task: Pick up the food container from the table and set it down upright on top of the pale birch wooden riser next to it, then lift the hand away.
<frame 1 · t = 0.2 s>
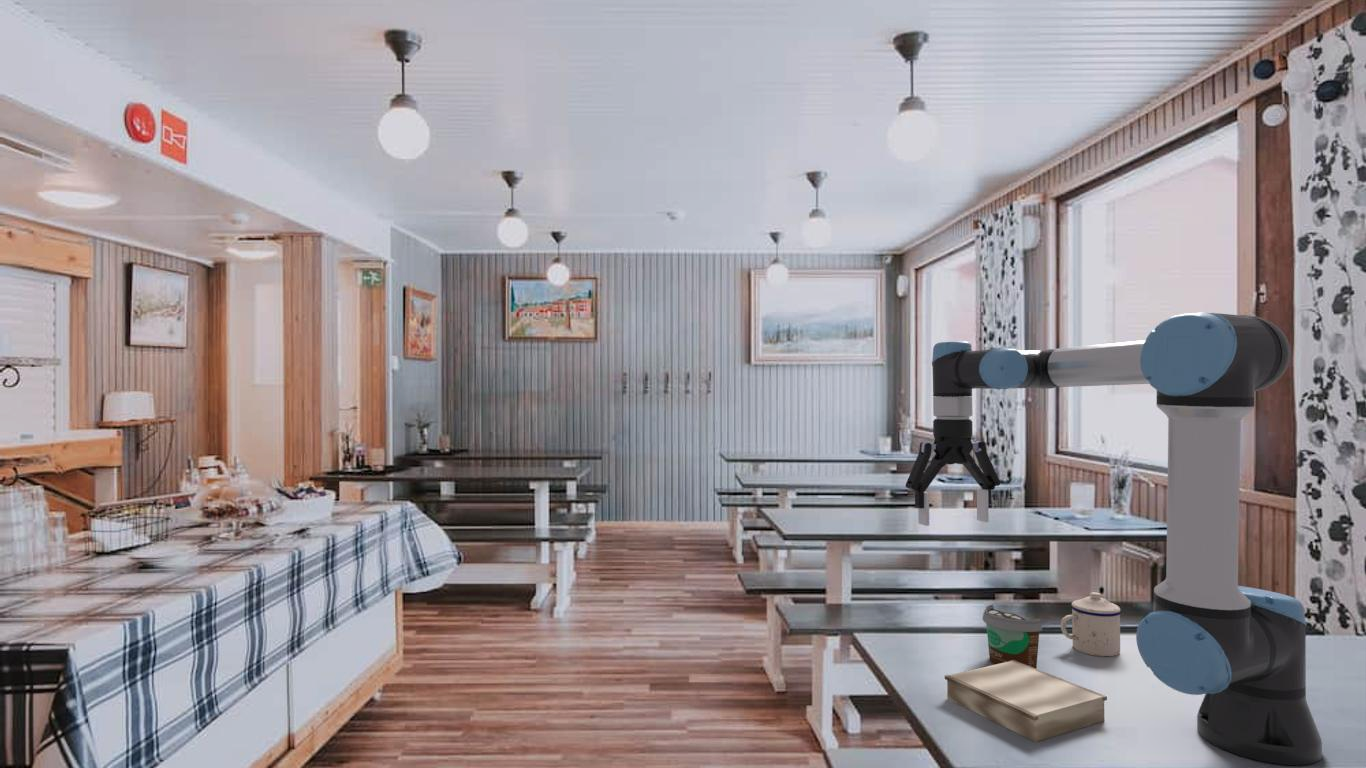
hand: (953, 522, 153), 27 cm above the table, tool pointing down, fingers open, 13 cm apart
riser: (1023, 709, 127), on the table
food container: (1004, 665, 148), on the table
teacup with lid: (1089, 651, 155), on the table
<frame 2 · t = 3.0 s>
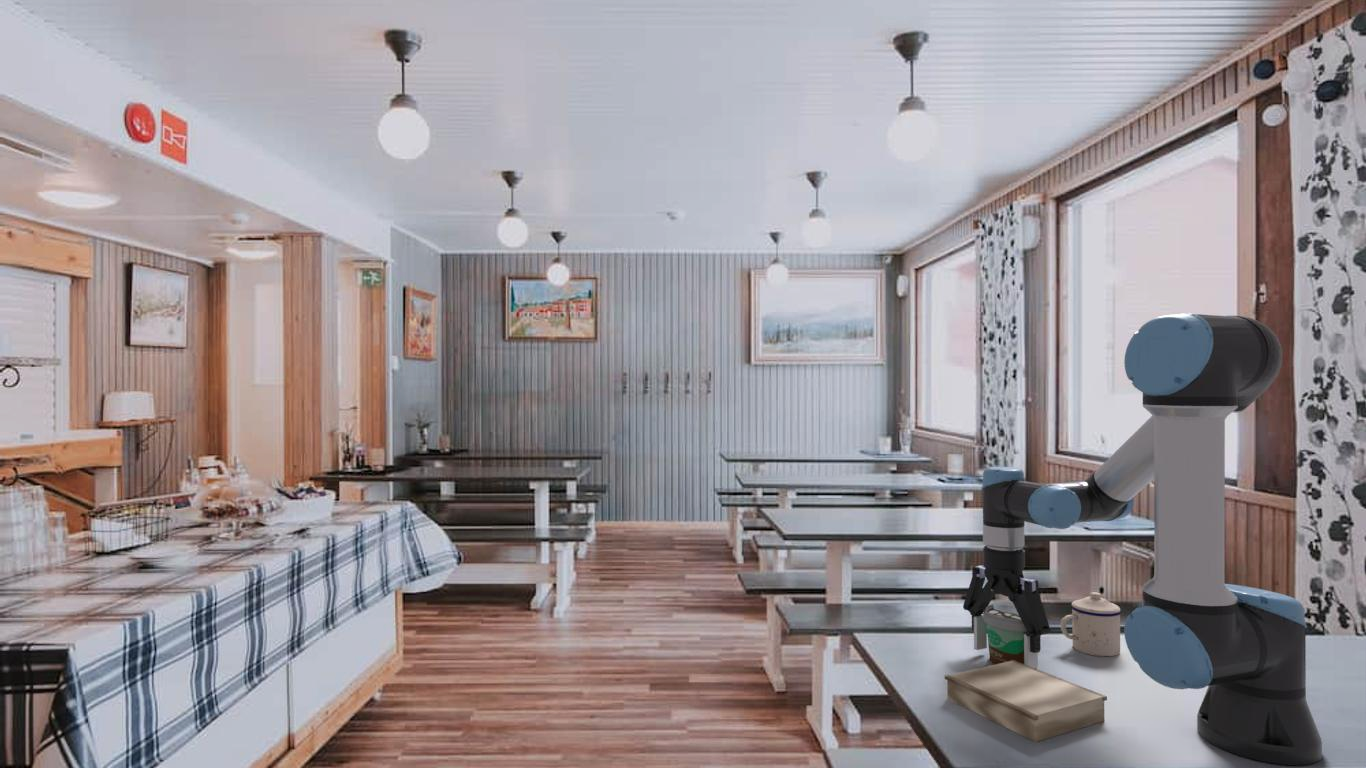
hand: (1004, 658, 148), 1 cm above the table, tool pointing down, fingers closed on food container, 11 cm apart
food container: (1005, 665, 148), on the table, touching gripper
everything else where it was.
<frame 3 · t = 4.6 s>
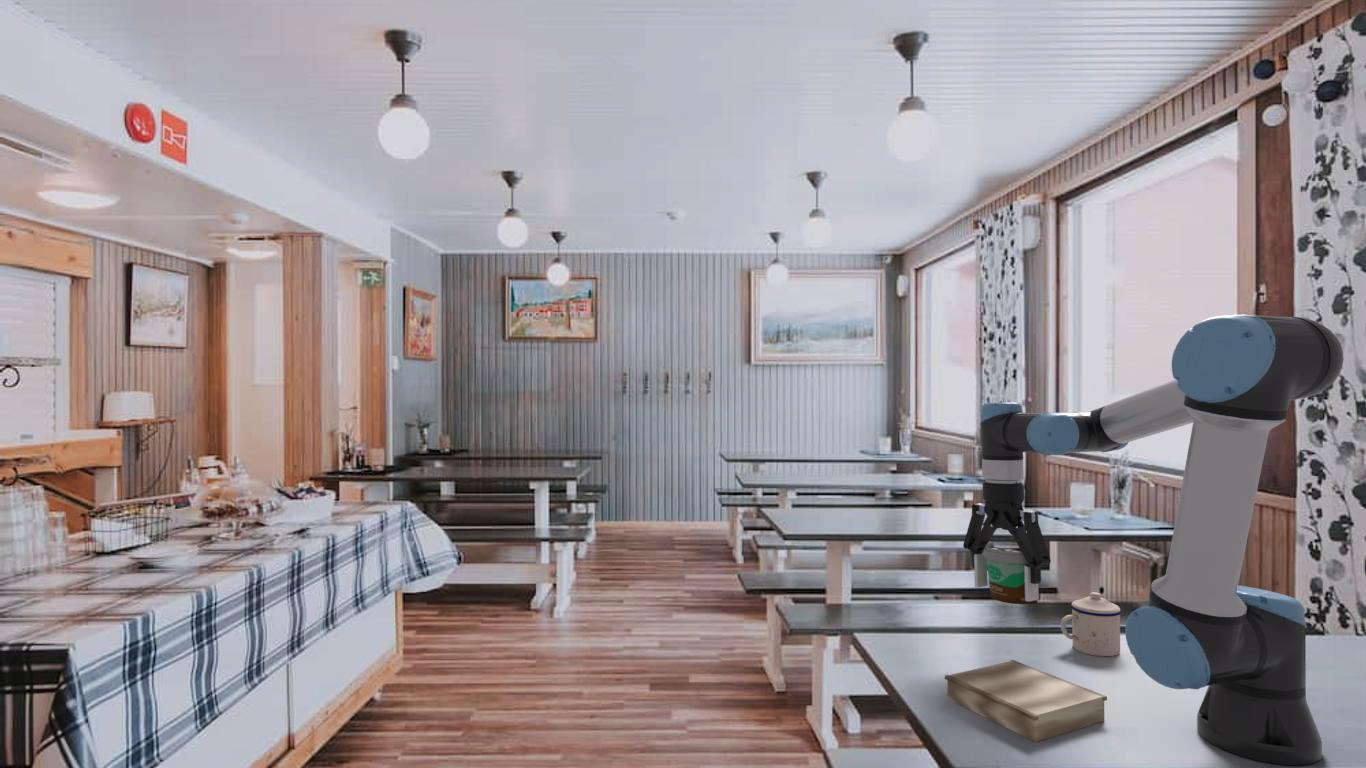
hand: (1005, 593, 147), 14 cm above the table, tool pointing down, fingers closed on food container, 11 cm apart
food container: (1005, 600, 147), point 13 cm above the table, touching gripper
everything else where it was.
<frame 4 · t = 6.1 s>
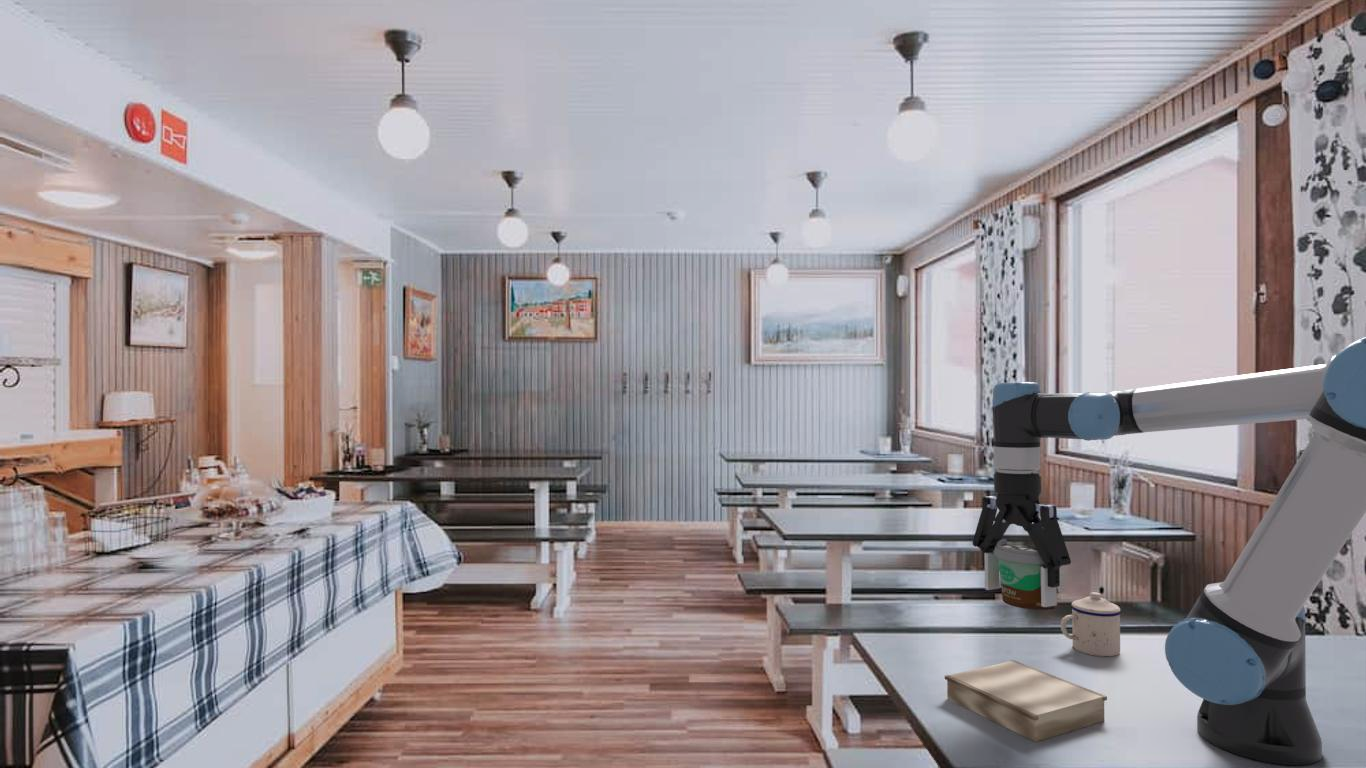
hand: (1019, 597, 131), 18 cm above the table, tool pointing down, fingers closed on food container, 11 cm apart
food container: (1019, 605, 131), point 16 cm above the table, touching gripper
everything else where it was.
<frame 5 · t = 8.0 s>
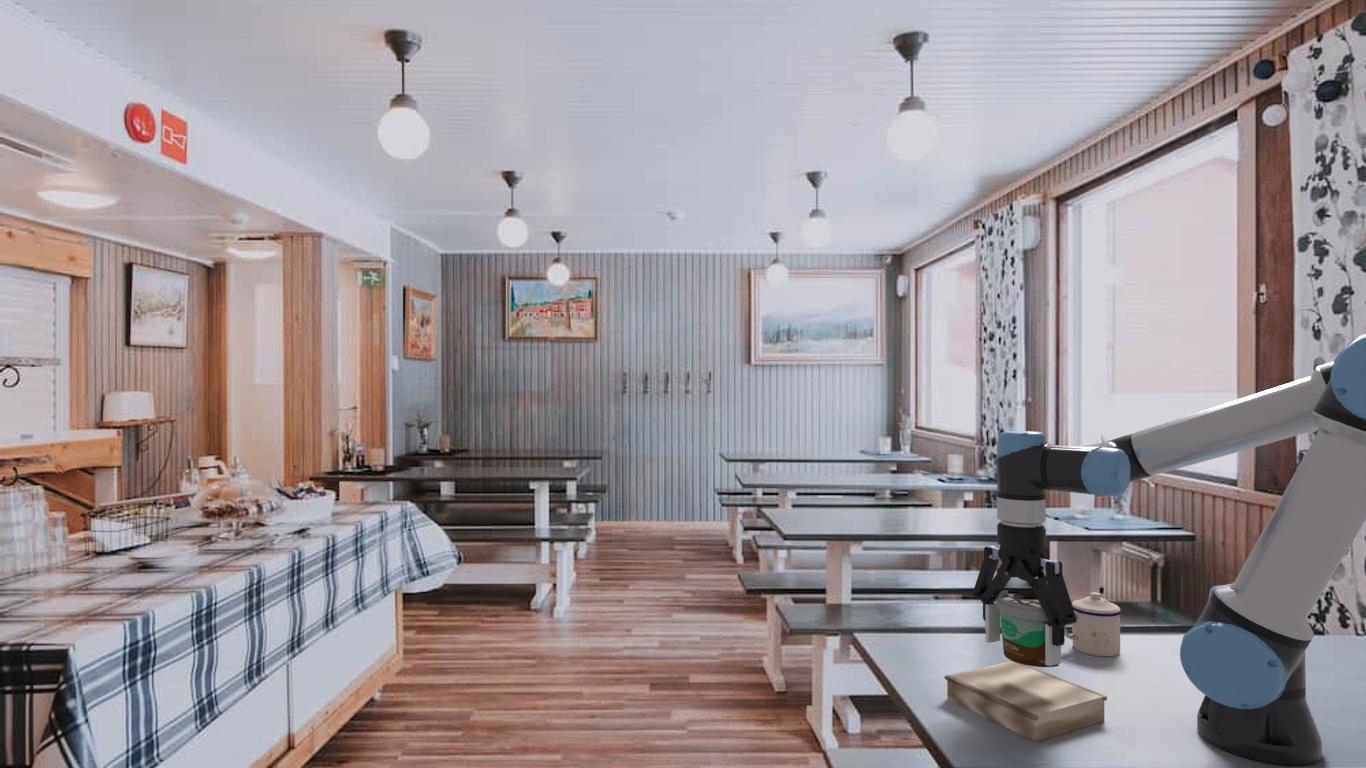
hand: (1021, 652, 127), 10 cm above the table, tool pointing down, fingers closed on food container, 11 cm apart
food container: (1021, 660, 127), point 8 cm above the table, touching gripper
everything else where it was.
when the fingers open (7 cm above the table, at t = 9.3 s): food container drops 1 cm, resting on riser.
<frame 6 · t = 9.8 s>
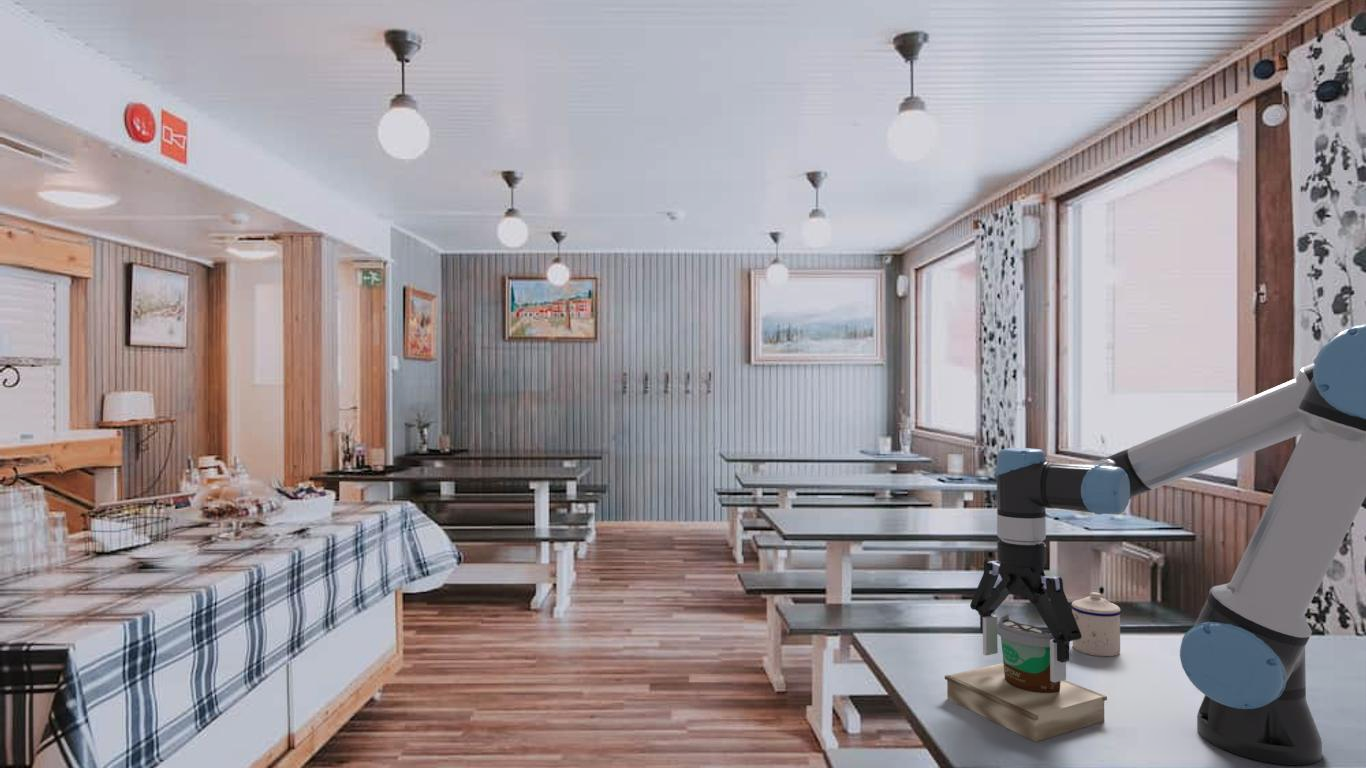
hand: (1022, 666, 127), 7 cm above the table, tool pointing down, fingers open, 13 cm apart
food container: (1022, 686, 127), point 4 cm above the table, touching riser
everything else where it was.
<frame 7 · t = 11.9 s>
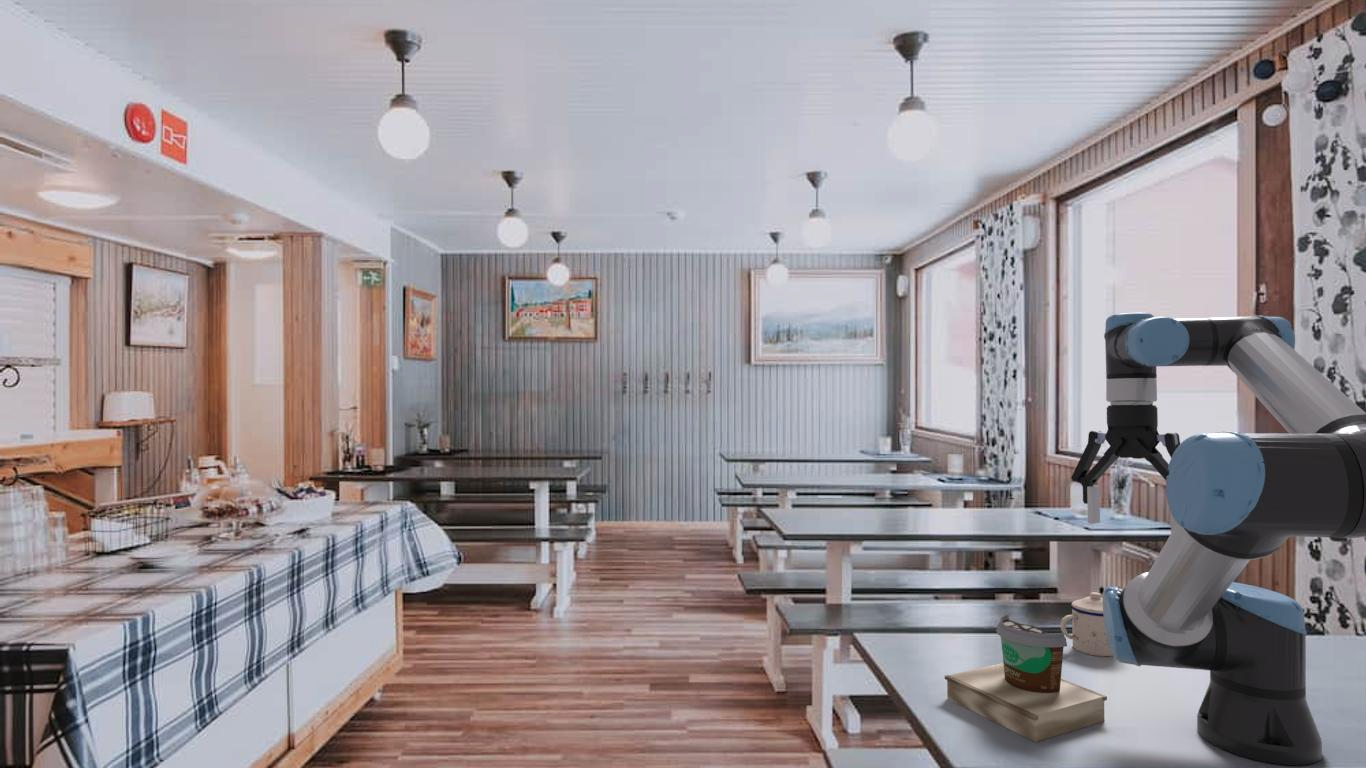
hand: (1133, 528, 129), 30 cm above the table, tool pointing down, fingers open, 13 cm apart
nothing on the table moved.
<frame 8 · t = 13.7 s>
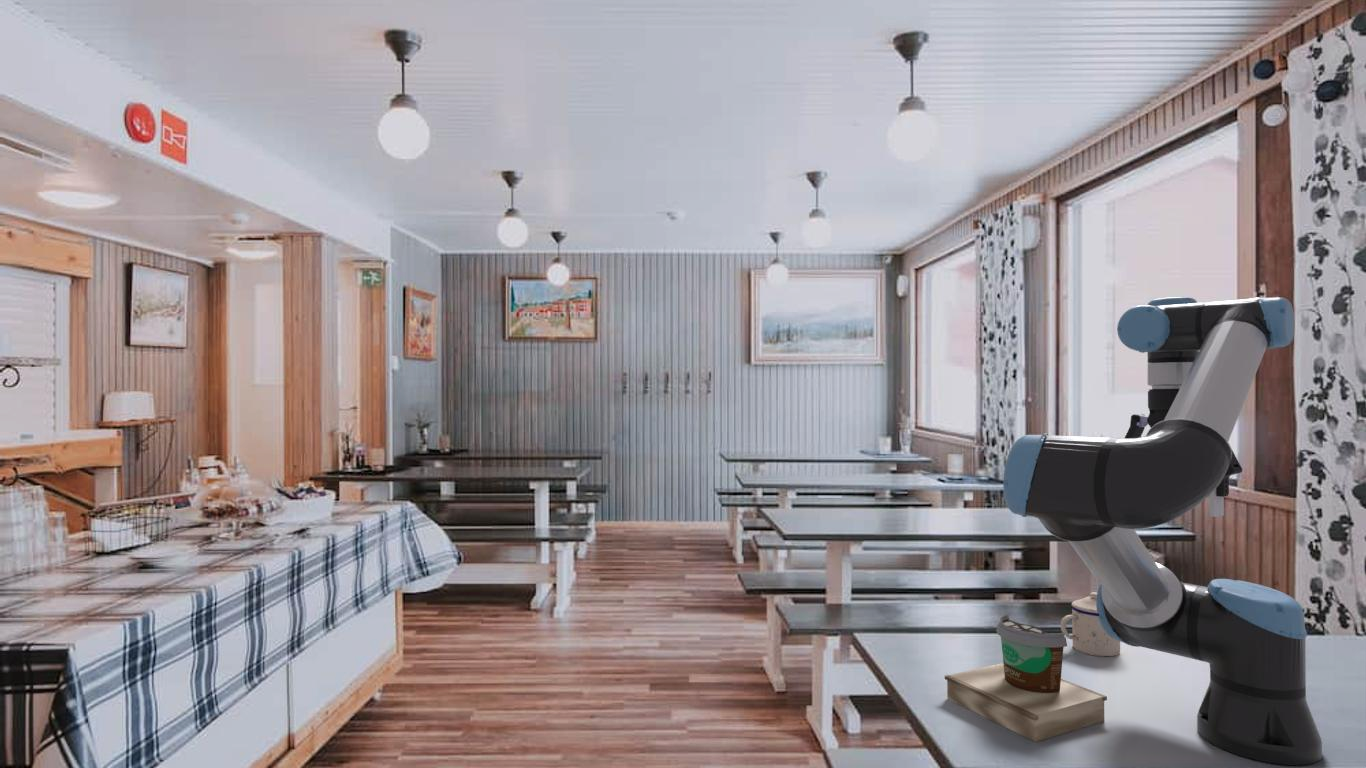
hand: (1174, 510, 131), 33 cm above the table, tool pointing down, fingers open, 13 cm apart
nothing on the table moved.
at the end: food container inside the target area on the riser (0.3 cm from its centre), point 3.8 cm above the riser's base; food container tilted 0°; the gripper is holding nothing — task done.
